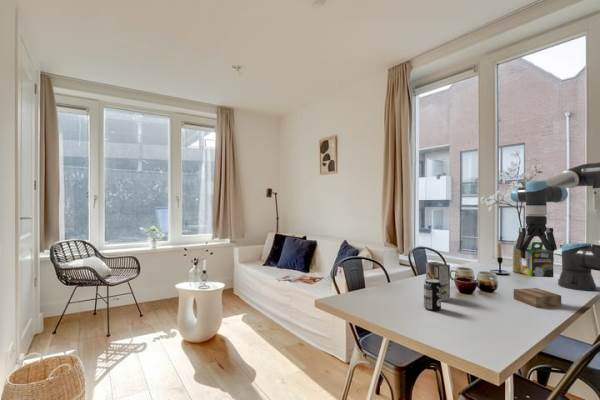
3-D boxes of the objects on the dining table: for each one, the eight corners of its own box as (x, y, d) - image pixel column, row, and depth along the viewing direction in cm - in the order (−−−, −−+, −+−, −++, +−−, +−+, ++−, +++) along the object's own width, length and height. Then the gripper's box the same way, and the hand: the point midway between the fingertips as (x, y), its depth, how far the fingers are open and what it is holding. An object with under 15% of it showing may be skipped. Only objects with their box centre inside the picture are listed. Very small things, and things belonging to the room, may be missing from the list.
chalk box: (540, 273, 144) (540, 240, 145) (554, 277, 135) (554, 243, 135) (519, 272, 145) (519, 240, 145) (531, 277, 136) (531, 242, 136)
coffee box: (450, 300, 144) (450, 265, 144) (439, 301, 142) (439, 265, 142) (436, 294, 152) (436, 261, 152) (425, 295, 150) (425, 262, 150)
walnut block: (536, 298, 147) (536, 288, 147) (561, 307, 135) (561, 295, 135) (513, 299, 145) (513, 289, 145) (536, 308, 133) (536, 296, 134)
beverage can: (440, 307, 134) (440, 279, 134) (441, 312, 128) (441, 282, 128) (423, 305, 136) (423, 277, 136) (424, 310, 130) (424, 281, 130)
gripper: (553, 215, 144) (553, 264, 144) (505, 215, 144) (506, 264, 144) (567, 215, 137) (568, 267, 137) (517, 215, 137) (517, 267, 136)
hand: (536, 265), depth 140 cm, fingers closed on chalk box, 9 cm apart
